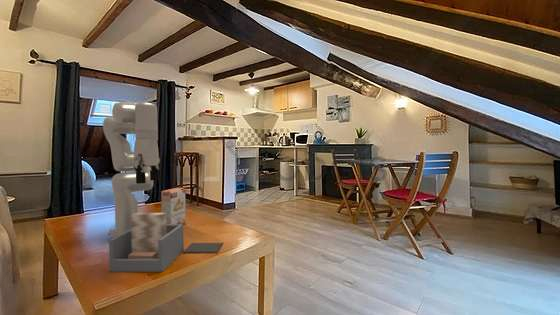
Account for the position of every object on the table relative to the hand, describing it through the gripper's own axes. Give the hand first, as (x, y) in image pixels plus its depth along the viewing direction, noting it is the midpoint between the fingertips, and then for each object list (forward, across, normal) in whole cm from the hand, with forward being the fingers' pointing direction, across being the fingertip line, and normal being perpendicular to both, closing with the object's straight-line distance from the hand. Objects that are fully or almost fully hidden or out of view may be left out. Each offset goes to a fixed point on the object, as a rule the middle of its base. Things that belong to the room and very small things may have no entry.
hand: (148, 181), depth 99 cm
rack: (+30, 0, 0) cm, 30 cm away
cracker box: (+30, -43, -9) cm, 53 cm away
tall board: (+30, 0, 0) cm, 30 cm away
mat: (+30, -12, +17) cm, 37 cm away
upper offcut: (+28, +4, 0) cm, 28 cm away
